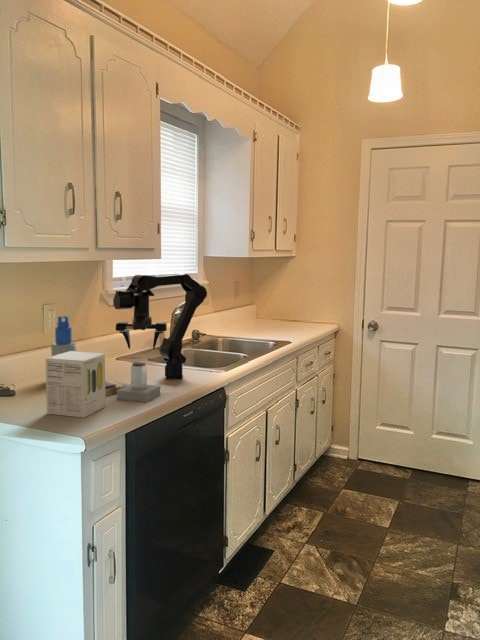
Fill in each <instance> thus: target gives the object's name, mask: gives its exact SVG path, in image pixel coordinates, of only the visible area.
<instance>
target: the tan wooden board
mask: <svg viewBox="0 0 480 640" xmlns="http://www.w3.org/2000/svg"><path fill="white" fill-rule="evenodd" d="M128 385H129V384H127V383H125V382H121V381H117V380H116V381H112V382H109V381H108V382H107V381H105V397H106V396H111V395H117V390H119V389H121V388H123V387H125V386H128Z"/></svg>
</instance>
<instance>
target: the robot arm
mask: <svg viewBox="0 0 480 640" xmlns="http://www.w3.org/2000/svg"><path fill="white" fill-rule="evenodd" d="M172 285H180V286H181V288H182V290H183V291H184V292H185V296H184V302H185V303H184V305H183V308H182V310H181V312H180V314H179V317H178V319H177V321H176V323H175V326H174V328H173V330H172V333H171V334H170V336H169V337H168V338H166V337H164V338H163V339H162V342H161V345H159V348H160V349H159V353H160V355H161V357H162V359H163V362H166V364H165V365H164V377H165V379H167V380H174V379H175V380H182V379H183V377H184V374H183V364H186V361H187V357H185V355H183V353H182V350H183V338H184V337H185V334H186V332H187V330H188V328H189V326H190V324H191V321H192V319H193V316H194V314H195V313H196V310H197V308H198V307H200V306H201V305H202V304H203V302H204V301H205V299H206V298H207V295H208V291H207V288H206V287H205V286H203V285H201V284H200V283H199V282H198V281H196V280H195V279H193V278H192V277H191V276H190V275H189V274H187V273H177V274H169V275H168V274H167V275H157V276H154V275H147V274H145V275H144V274H135V275H134V276H133V277H132V279H131V282H130V284H129V285H128V286H127V288H126V290H124V291H123V290H115V294H114V297H113V299H112V304H113V307H114V309H116V310H130V309H133V317H132V323H129V322H128V321H119V322H117V323H116V324H115V331H117V332H119V333H120V334H122V335H123V337H124V340H125V342H126V345H127V348H128V350H130V349H131V337H130V336H131V335H130V330H133V331H137V330H138V331H139V330H141V331H146V330H155V331H154V335H153V342H152V344H153V345H152V349H153V350H155V349H156V345H157V342H158V338H159V337H160V335H161V334H163V333H164V332H167V329H168V324H167V322H164V321H156V322H155V323H153V321H152V320H153V319H152V316H150V297H155V293H154V292H152V289H155V288H157V287H163V286H172Z"/></svg>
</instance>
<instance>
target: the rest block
mask: <svg viewBox="0 0 480 640" xmlns="http://www.w3.org/2000/svg"><path fill="white" fill-rule="evenodd" d="M160 395H161V385H157V384H147V387H146V388H145V389H143V390H136V389H131V383H130V384H128V386H125V387H123V388H121V389H119V390H117V393H116V400H121V401H132V402H142V403H147V402H149V401H151V400H153V399H155V398H156V397H158V396H160Z"/></svg>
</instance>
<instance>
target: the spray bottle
mask: <svg viewBox="0 0 480 640" xmlns="http://www.w3.org/2000/svg"><path fill="white" fill-rule="evenodd" d="M54 333H55V334H54V336H55V341H54V342H53V343H51V346H50V347H51V350H50V351H51V357H52V356H55V355H58V354H62V353H65V352H69V351H77V345H76V342H74V341H72V339H73V337H72V334H73V333H72V327H71V326H70V322H69V316H68V315H65V316H60V315H58V316H57V323H56V327H54Z"/></svg>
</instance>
